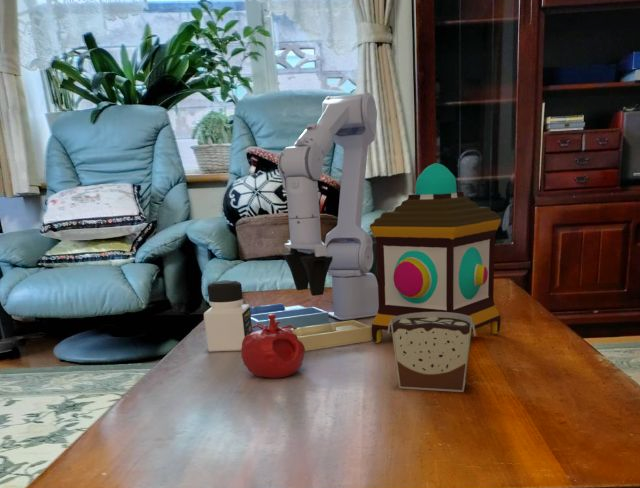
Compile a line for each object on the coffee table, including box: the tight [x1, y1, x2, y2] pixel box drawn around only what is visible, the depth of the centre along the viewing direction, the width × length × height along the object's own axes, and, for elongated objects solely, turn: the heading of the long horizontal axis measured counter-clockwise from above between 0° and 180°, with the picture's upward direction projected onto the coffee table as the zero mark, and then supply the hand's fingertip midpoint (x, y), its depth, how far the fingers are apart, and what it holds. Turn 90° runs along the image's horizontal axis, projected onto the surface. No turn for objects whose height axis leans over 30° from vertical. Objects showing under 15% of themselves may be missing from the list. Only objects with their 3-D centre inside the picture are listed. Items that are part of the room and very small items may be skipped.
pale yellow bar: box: [294, 322, 358, 337], centre depth 125 cm, size 12×4×3 cm, turn 116°
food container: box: [387, 312, 477, 393], centre depth 97 cm, size 12×6×10 cm, turn 71°
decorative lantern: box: [369, 162, 502, 344], centre depth 120 cm, size 20×20×30 cm
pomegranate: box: [240, 314, 306, 379], centre depth 106 cm, size 10×10×9 cm
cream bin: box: [290, 319, 373, 352], centre depth 125 cm, size 15×8×3 cm, turn 116°
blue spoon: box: [250, 303, 306, 315], centre depth 149 cm, size 12×4×3 cm, turn 116°
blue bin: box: [251, 306, 330, 333], centre depth 140 cm, size 15×8×3 cm, turn 116°
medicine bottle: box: [203, 279, 253, 353], centre depth 124 cm, size 7×7×12 cm
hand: (309, 292), depth 129 cm, fingers open, 7 cm apart
